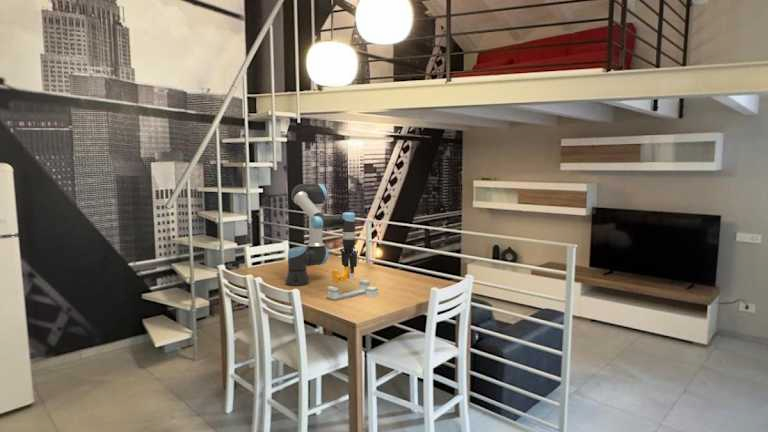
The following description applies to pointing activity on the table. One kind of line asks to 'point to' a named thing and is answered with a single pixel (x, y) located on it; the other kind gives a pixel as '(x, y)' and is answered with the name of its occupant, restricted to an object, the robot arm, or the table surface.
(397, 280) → the table surface
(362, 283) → the module
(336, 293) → the module
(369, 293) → the module
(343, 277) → the orange irregular piece
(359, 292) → the din board
